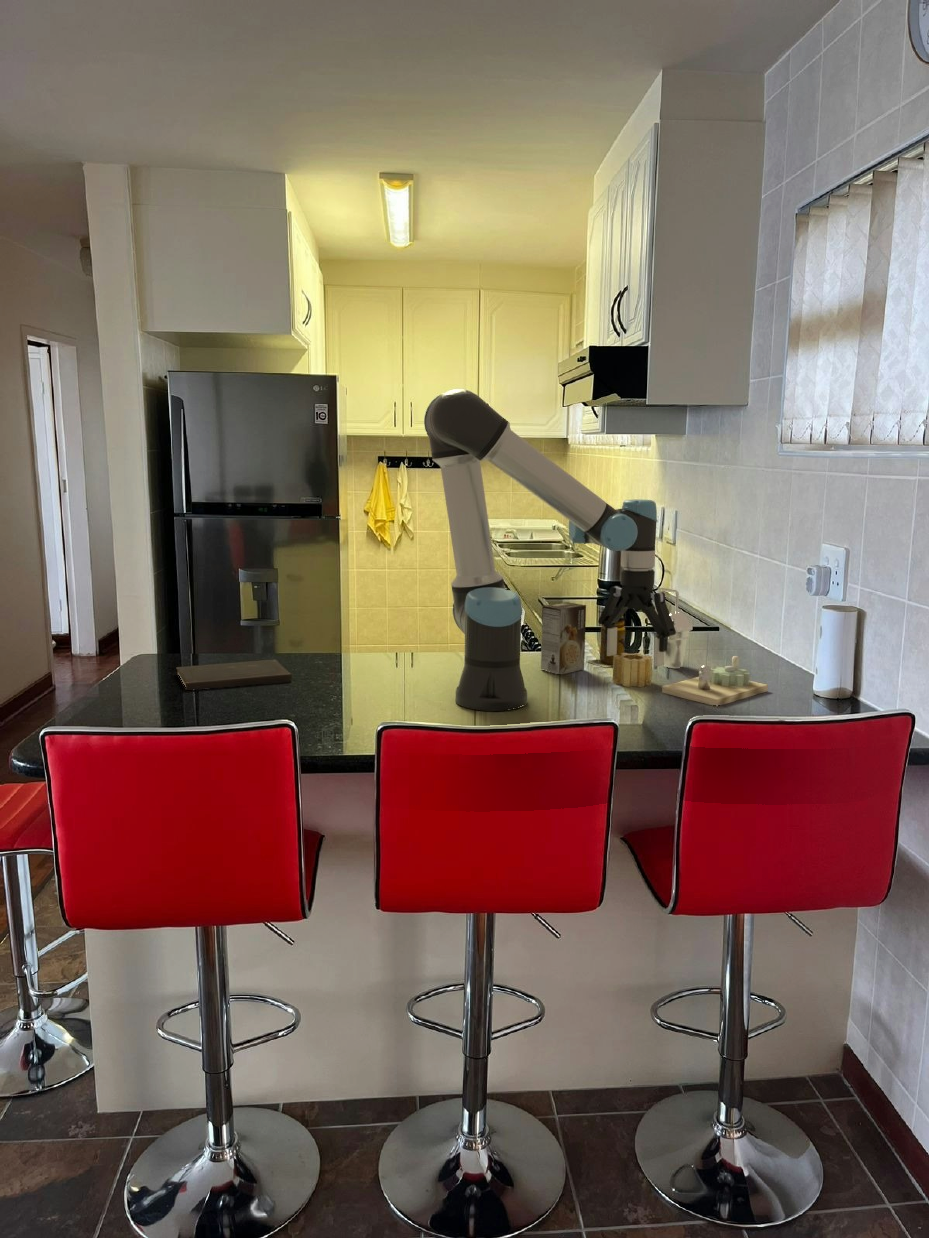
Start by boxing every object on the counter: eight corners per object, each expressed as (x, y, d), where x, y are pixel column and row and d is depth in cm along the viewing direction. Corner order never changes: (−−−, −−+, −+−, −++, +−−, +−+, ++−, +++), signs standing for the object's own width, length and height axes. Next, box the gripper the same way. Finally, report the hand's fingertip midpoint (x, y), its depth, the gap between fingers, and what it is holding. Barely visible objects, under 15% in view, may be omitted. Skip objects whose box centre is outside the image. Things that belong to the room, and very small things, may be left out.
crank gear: (734, 688, 198) (736, 664, 197) (701, 680, 205) (702, 657, 204) (756, 682, 204) (757, 659, 203) (722, 675, 210) (724, 652, 209)
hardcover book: (176, 676, 209) (176, 667, 208) (275, 668, 218) (275, 659, 218) (186, 693, 194) (185, 683, 194) (291, 684, 204) (291, 674, 203)
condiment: (630, 664, 227) (633, 617, 224) (605, 668, 222) (607, 620, 220) (611, 658, 233) (613, 612, 230) (586, 662, 228) (588, 615, 226)
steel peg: (705, 690, 196) (707, 667, 195) (695, 688, 198) (697, 664, 197) (712, 688, 198) (714, 665, 197) (702, 686, 200) (704, 663, 199)
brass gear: (634, 689, 202) (636, 663, 201) (605, 681, 209) (606, 656, 208) (658, 683, 208) (660, 657, 207) (628, 675, 214) (629, 651, 213)
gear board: (716, 706, 189) (717, 699, 189) (662, 692, 200) (662, 686, 199) (767, 691, 202) (767, 684, 202) (713, 678, 213) (713, 672, 212)
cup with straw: (688, 671, 220) (694, 590, 216) (651, 668, 222) (655, 588, 219) (691, 664, 228) (696, 585, 224) (655, 660, 230) (659, 583, 227)
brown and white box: (565, 665, 224) (567, 601, 221) (584, 669, 220) (587, 605, 217) (539, 670, 218) (541, 605, 215) (559, 675, 214) (561, 608, 211)
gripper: (694, 572, 197) (690, 667, 201) (605, 562, 215) (603, 648, 219) (673, 575, 192) (669, 672, 196) (584, 564, 210) (582, 653, 214)
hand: (634, 660), depth 207 cm, fingers open, 13 cm apart
